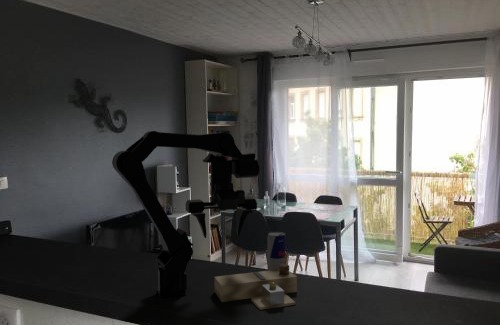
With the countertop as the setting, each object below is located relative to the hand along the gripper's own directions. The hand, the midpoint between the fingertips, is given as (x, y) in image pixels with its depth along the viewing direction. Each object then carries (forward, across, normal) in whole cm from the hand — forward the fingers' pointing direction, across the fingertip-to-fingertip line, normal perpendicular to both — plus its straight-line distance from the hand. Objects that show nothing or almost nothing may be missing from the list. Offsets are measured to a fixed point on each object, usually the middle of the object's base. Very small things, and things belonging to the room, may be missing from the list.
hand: (221, 236), depth 111 cm
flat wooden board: (+13, +8, -17) cm, 23 cm away
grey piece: (+12, +8, -17) cm, 22 cm away
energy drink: (+13, +17, +2) cm, 22 cm away
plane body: (+13, +6, -9) cm, 17 cm away
